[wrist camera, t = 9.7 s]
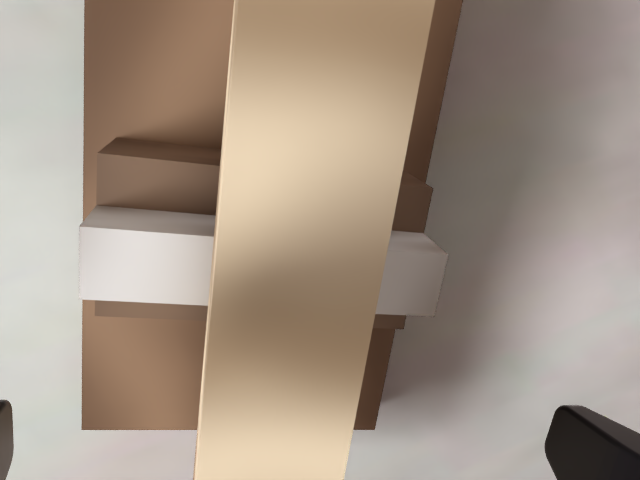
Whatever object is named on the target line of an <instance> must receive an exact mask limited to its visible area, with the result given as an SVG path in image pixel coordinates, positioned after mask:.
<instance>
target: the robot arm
mask: <svg viewBox="0 0 640 480" xmlns="http://www.w3.org/2000/svg"><path fill="white" fill-rule="evenodd" d="M13 446H14V445H13V420H12V407H11V404H10V402H9V401H7V400H0V480H6V477H7V474H8V471H9V468H10V465H11V461H12V457H13ZM545 453H546V457H547V459H548V461H549V463H550V466H551V468H552V470H553V472H554V474H555V476H556V478H557V480H640V434H639V433H637V432H635V431H633V430H631V429H629V428H627V427H625V426H623V425H621V424H619V423H617V422H615V421H613V420H611V419H608V418H606V417H604V416H602V415H600V414H598V413H596V412H594V411H592V410H590V409H588V408H586V407H583V406H579V405H563V406H560V407H558V408H557V410H556V411H555V413H554V416H553V419H552V422H551V426H550V429H549V432H548V435H547V438H546V441H545Z"/></svg>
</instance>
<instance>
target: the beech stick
mask: <svg viewBox="0 0 640 480" xmlns="http://www.w3.org/2000/svg"><path fill="white" fill-rule="evenodd" d="M434 5H435V0H234V8H233V19H232V31H231V43H230V54H229V66H228V78H227V90H226V101H225V113H224V125H223V136H222V148H221V160H220V171H219V183H218V195H217V206H216V218H215V230H214V241H213V253H212V265H211V277H210V288H209V300H208V312H207V323H206V335H205V347H204V358H203V370H202V382H201V393H200V405H199V417H198V428H197V440H196V452H195V463H194V475H193V480H344V475H345V470H346V465H347V459H348V454H349V449H350V444H351V439H352V433H353V428H354V423H355V418H356V412H357V407H358V402H359V397H360V391H361V386H362V381H363V376H364V371H365V365H366V360H367V355H368V350H369V344H370V339H371V334H372V329H373V324H374V318H375V313H376V308H377V303H378V297H379V292H380V287H381V282H382V277H383V271H384V266H385V261H386V256H387V250H388V245H389V240H390V235H391V230H392V224H393V219H394V214H395V209H396V203H397V198H398V193H399V188H400V182H401V177H402V172H403V167H404V162H405V156H406V151H407V146H408V141H409V135H410V130H411V125H412V120H413V115H414V109H415V104H416V99H417V94H418V88H419V83H420V78H421V73H422V68H423V62H424V57H425V52H426V47H427V41H428V36H429V31H430V26H431V21H432V15H433V10H434Z"/></svg>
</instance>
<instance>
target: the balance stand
mask: <svg viewBox="0 0 640 480" xmlns="http://www.w3.org/2000/svg"><path fill="white" fill-rule="evenodd" d="M462 2H463V0H435V5H434V10H433V15H432V21H431V26H430V31H429V36H428V41H427V47H426V52H425V57H424V62H423V68H422V73H421V78H420V83H419V88H418V94H417V99H416V104H415V109H414V115H413V120H412V125H411V130H410V135H409V141H408V146H407V151H406V156H405V162H404V167H403V172H402V177H401V182H400V188H399V193H398V198H397V203H396V209H395V214H394V219H393V224H392V230H391V235H390V240H389V245H388V250H387V256H386V261H385V266H384V271H383V277H382V282H381V287H380V292H379V297H378V303H377V308H376V313H375V318H374V324H373V329H372V334H371V339H370V344H369V350H368V355H367V360H366V365H365V371H364V376H363V381H362V386H361V391H360V397H359V402H358V407H357V412H356V418H355V423H354V428H353V430H375V426H376V421H377V416H378V411H379V406H380V401H381V396H382V391H383V387H384V382H385V377H386V372H387V367H388V362H389V357H390V353H391V348H392V343H393V338H394V333H395V329H404V324H405V319H406V315H409V316H429V317H434V316H435V312H436V308H437V303H438V299H439V294H440V290H441V286H442V281H443V277H444V273H445V268H446V264H447V260H448V254H447V253H446V252H445V251H444V250H443V249H441V248H440V247H439V246H438V245H437V244H436V243H434V242H433V241H432V240H431V239H430V238H429V237H427V236H426V235H425V234H424V229H425V225H426V220H427V215H428V210H429V206H430V201H431V196H432V191H433V188H432V187H430V186H428V185H427V184H425V182H426V177H427V173H428V168H429V163H430V158H431V153H432V148H433V143H434V139H435V134H436V129H437V124H438V119H439V114H440V109H441V105H442V100H443V95H444V90H445V85H446V80H447V75H448V70H449V66H450V61H451V56H452V51H453V46H454V41H455V36H456V32H457V27H458V22H459V17H460V12H461V7H462ZM233 8H234V0H85V9H84V161H83V223H82V224H81V225H80V226H79V299H82V300H83V312H82V430H197V428H198V417H199V405H200V393H201V382H202V370H203V358H204V347H205V335H206V323H207V312H208V300H209V288H210V277H211V265H212V253H213V241H214V230H215V218H216V206H217V195H218V183H219V171H220V160H221V148H222V136H223V125H224V113H225V101H226V90H227V78H228V66H229V54H230V43H231V31H232V19H233Z"/></svg>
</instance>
